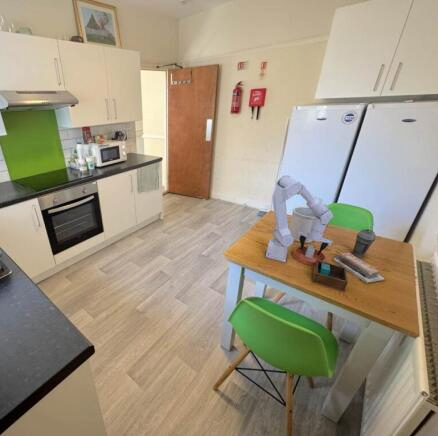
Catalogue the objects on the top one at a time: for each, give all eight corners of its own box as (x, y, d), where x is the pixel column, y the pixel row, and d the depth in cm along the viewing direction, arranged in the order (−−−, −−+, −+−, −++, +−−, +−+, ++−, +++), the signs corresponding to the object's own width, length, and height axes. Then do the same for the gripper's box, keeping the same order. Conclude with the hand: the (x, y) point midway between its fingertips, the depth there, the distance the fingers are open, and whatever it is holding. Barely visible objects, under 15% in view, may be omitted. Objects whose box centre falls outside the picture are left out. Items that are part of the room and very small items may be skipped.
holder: (312, 282, 110) (316, 273, 107) (313, 268, 118) (316, 259, 116) (343, 291, 104) (347, 282, 102) (341, 276, 113) (345, 267, 110)
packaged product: (334, 252, 121) (350, 250, 123) (331, 260, 124) (347, 257, 125) (370, 275, 106) (388, 272, 107) (366, 284, 108) (383, 280, 110)
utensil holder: (287, 240, 141) (294, 214, 133) (285, 229, 153) (291, 204, 145) (316, 245, 136) (326, 218, 128) (311, 233, 148) (320, 207, 140)
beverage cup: (363, 253, 128) (379, 220, 119) (368, 260, 122) (385, 227, 113) (347, 250, 131) (361, 218, 122) (350, 257, 125) (365, 224, 116)
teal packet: (318, 276, 113) (321, 268, 110) (318, 270, 116) (321, 262, 114) (326, 278, 111) (330, 270, 109) (326, 273, 114) (329, 264, 112)
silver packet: (305, 256, 127) (307, 248, 124) (305, 252, 130) (307, 244, 128) (312, 258, 125) (314, 250, 123) (312, 253, 128) (315, 246, 126)
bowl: (291, 261, 124) (293, 256, 122) (293, 248, 134) (295, 243, 133) (324, 270, 117) (326, 265, 116) (324, 255, 127) (325, 251, 126)
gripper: (336, 231, 118) (327, 253, 124) (303, 222, 127) (297, 243, 133) (333, 236, 114) (324, 259, 120) (299, 226, 123) (293, 248, 129)
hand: (310, 251), depth 126 cm, fingers open, 7 cm apart
